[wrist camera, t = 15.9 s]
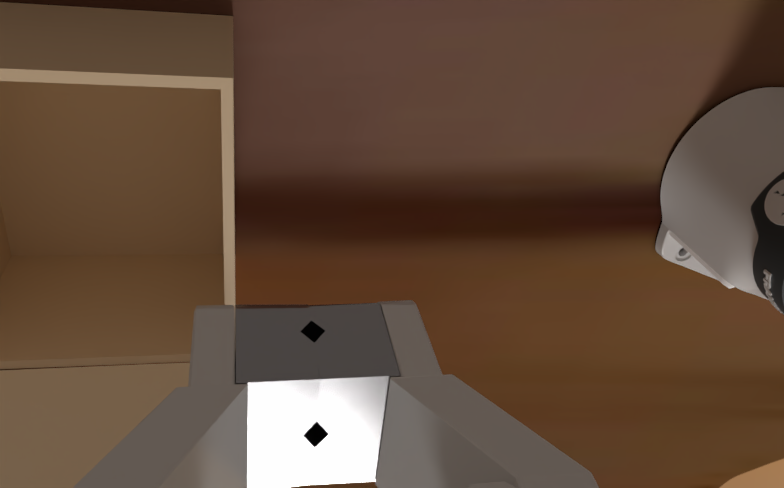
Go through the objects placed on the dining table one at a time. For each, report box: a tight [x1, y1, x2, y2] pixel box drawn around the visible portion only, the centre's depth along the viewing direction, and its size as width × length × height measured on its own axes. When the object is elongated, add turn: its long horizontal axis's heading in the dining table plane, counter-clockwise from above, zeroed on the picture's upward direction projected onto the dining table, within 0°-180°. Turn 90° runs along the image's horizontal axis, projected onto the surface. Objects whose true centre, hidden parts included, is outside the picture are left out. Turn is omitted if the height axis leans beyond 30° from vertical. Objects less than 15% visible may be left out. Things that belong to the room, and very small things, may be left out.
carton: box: [0, 2, 235, 369], centre depth 43 cm, size 18×16×12 cm
